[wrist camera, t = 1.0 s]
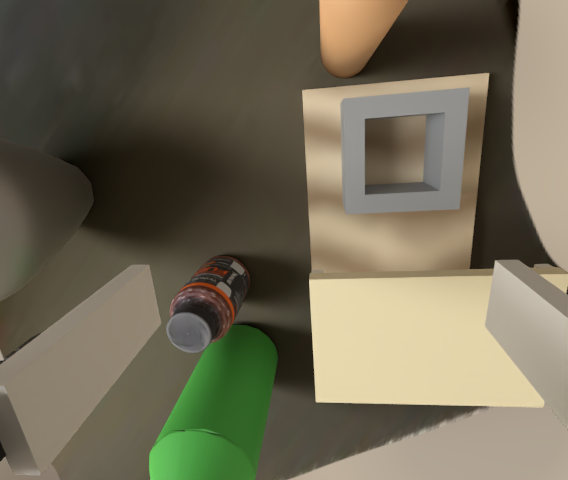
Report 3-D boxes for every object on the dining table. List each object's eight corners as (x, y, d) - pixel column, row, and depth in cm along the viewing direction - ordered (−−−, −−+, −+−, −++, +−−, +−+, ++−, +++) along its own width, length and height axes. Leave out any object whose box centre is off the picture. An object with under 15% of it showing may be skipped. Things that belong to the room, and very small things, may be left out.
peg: (319, 26, 30) (317, -78, 15) (370, 20, 30) (420, -94, 14) (321, 80, 31) (321, 34, 16) (369, 75, 31) (415, 24, 16)
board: (303, 91, 32) (302, 90, 31) (482, 74, 30) (489, 72, 29) (313, 299, 39) (313, 305, 37) (461, 297, 37) (466, 303, 35)
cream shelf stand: (314, 222, 34) (309, 279, 21) (469, 215, 33) (570, 273, 19) (318, 305, 37) (315, 402, 24) (461, 303, 35) (543, 407, 22)
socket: (340, 103, 31) (343, 98, 26) (446, 94, 30) (469, 87, 25) (342, 202, 34) (345, 214, 29) (439, 197, 32) (459, 209, 28)
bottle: (196, 352, 43) (39, 629, 19) (235, 307, 40) (110, 563, 16) (251, 391, 44) (167, 701, 20) (293, 349, 41) (253, 649, 17)
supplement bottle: (238, 246, 38) (205, 293, 27) (259, 292, 39) (235, 353, 28) (192, 263, 39) (142, 313, 28) (214, 306, 40) (175, 370, 30)
